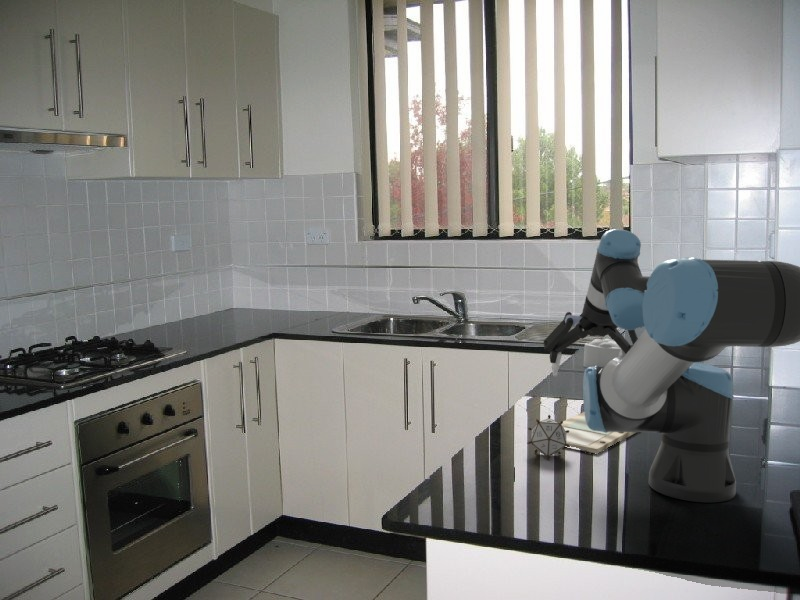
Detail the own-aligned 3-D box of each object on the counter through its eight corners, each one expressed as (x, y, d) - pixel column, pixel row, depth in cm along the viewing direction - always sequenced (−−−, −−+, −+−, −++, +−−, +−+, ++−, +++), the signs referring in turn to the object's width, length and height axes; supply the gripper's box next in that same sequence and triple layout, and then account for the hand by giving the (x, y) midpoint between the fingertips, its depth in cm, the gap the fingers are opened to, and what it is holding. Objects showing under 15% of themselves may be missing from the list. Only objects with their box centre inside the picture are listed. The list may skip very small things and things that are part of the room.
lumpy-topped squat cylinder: (624, 372, 260) (626, 344, 259) (581, 368, 264) (583, 341, 263) (626, 366, 269) (628, 339, 268) (585, 362, 274) (586, 336, 272)
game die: (542, 470, 174) (544, 425, 179) (578, 464, 169) (579, 418, 174) (517, 456, 169) (519, 410, 174) (553, 450, 163) (554, 402, 168)
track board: (596, 454, 173) (597, 448, 173) (531, 440, 182) (531, 435, 182) (655, 421, 201) (655, 416, 201) (596, 410, 210) (596, 405, 210)
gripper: (663, 288, 169) (640, 361, 184) (540, 284, 169) (526, 358, 183) (672, 314, 164) (647, 387, 178) (544, 310, 163) (529, 383, 178)
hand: (585, 372), depth 181 cm, fingers open, 13 cm apart
